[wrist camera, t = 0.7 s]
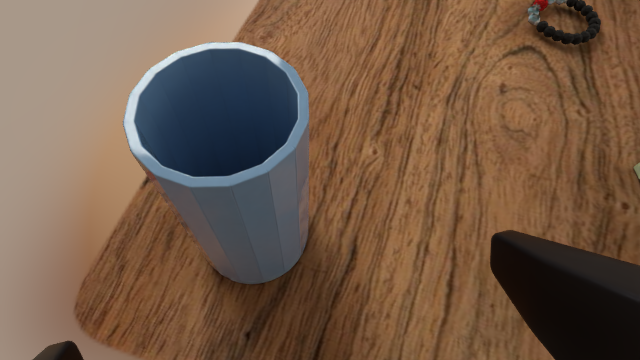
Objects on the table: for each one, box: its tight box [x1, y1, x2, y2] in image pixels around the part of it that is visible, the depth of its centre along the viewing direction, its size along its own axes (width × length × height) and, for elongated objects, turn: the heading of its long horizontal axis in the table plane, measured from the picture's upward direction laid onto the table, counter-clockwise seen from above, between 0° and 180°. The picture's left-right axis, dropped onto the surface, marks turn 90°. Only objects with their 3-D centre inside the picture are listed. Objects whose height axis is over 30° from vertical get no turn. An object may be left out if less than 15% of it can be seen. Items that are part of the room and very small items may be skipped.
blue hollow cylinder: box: [123, 42, 309, 284], centre depth 20 cm, size 6×6×12 cm
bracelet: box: [528, 0, 601, 45], centre depth 34 cm, size 6×6×1 cm
